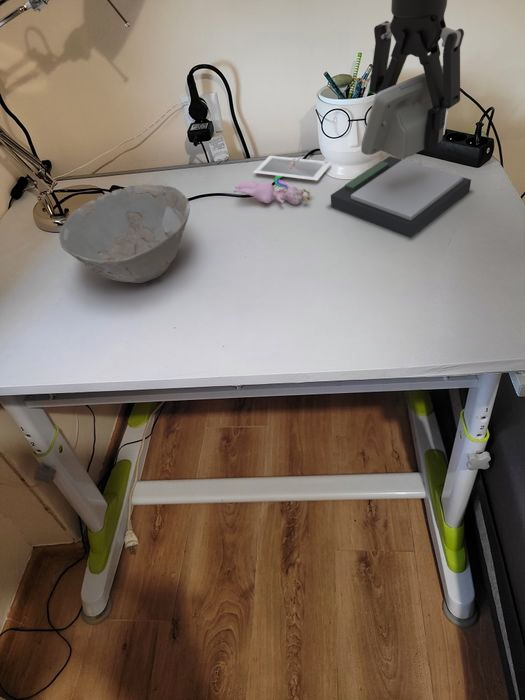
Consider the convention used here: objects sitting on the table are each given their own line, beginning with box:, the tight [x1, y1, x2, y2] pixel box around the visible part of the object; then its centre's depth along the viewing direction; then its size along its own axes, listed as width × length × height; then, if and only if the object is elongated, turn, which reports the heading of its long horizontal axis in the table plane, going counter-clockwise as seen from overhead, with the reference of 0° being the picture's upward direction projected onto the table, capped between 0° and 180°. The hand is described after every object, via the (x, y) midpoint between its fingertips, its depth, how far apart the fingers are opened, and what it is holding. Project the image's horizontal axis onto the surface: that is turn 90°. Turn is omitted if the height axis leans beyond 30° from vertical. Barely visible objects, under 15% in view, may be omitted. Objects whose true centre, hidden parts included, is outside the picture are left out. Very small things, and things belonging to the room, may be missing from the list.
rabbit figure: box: [233, 175, 311, 206], centre depth 99 cm, size 6×6×15 cm
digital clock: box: [360, 65, 445, 160], centre depth 82 cm, size 16×9×11 cm, turn 111°
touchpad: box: [252, 155, 328, 181], centre depth 108 cm, size 8×15×2 cm, turn 62°
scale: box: [330, 155, 472, 239], centre depth 94 cm, size 18×18×3 cm
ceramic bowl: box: [58, 184, 191, 284], centre depth 88 cm, size 22×23×10 cm
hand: (409, 142), depth 85 cm, fingers closed on digital clock, 8 cm apart
